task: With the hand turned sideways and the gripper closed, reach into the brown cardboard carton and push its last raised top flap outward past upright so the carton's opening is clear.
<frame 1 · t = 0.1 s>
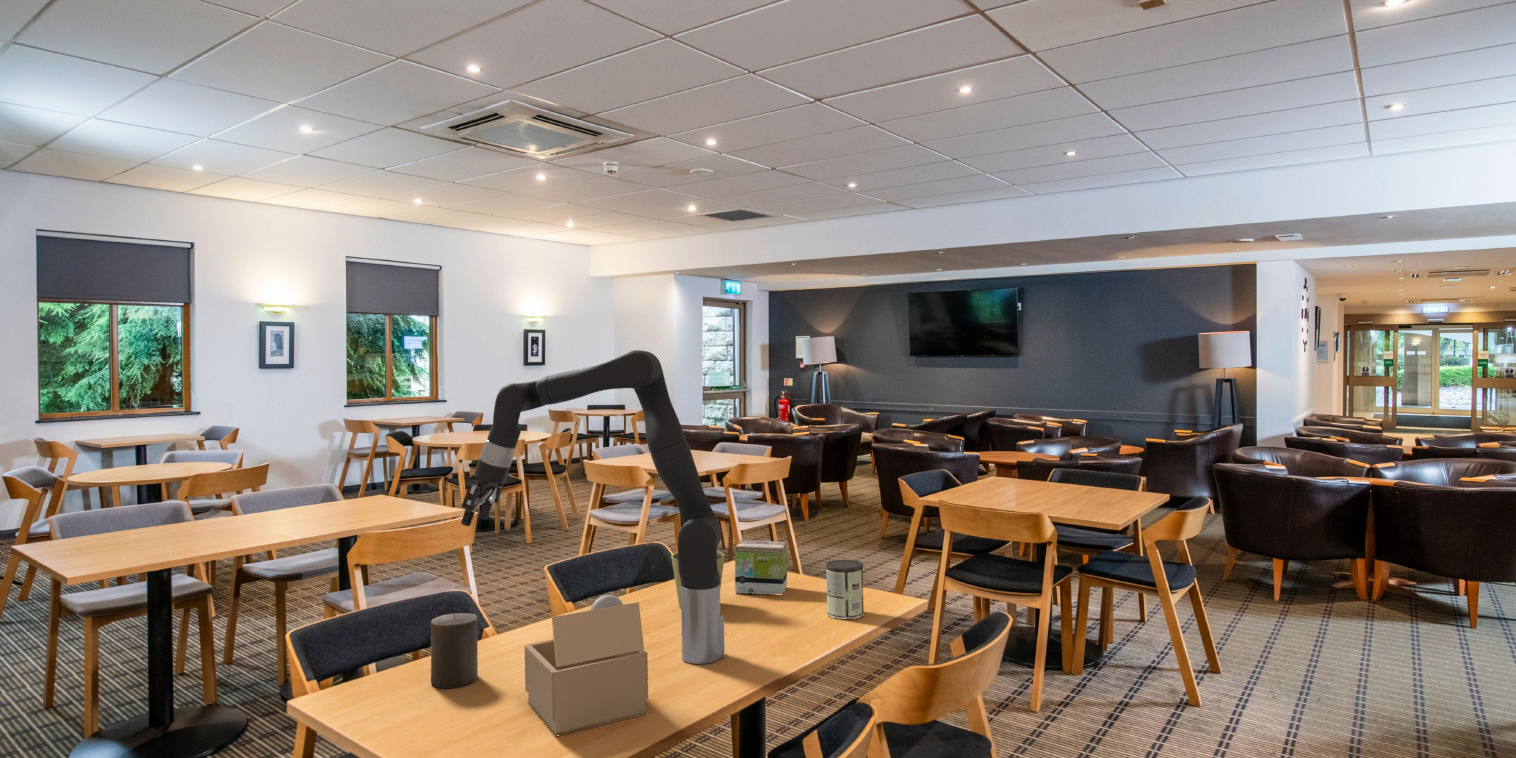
hand: (474, 521, 198), 31 cm above the table, tool tilted 20°, fingers open, 8 cm apart
carton flap: (598, 633, 154), point 17 cm above the table, hinge at 75.0°
donut: (606, 633, 209), on the table
carton: (585, 708, 161), on the table
coffee can: (845, 615, 222), on the table
tea box: (761, 591, 248), on the table
pillar candle: (455, 681, 178), on the table
potted cactus: (698, 607, 232), on the table
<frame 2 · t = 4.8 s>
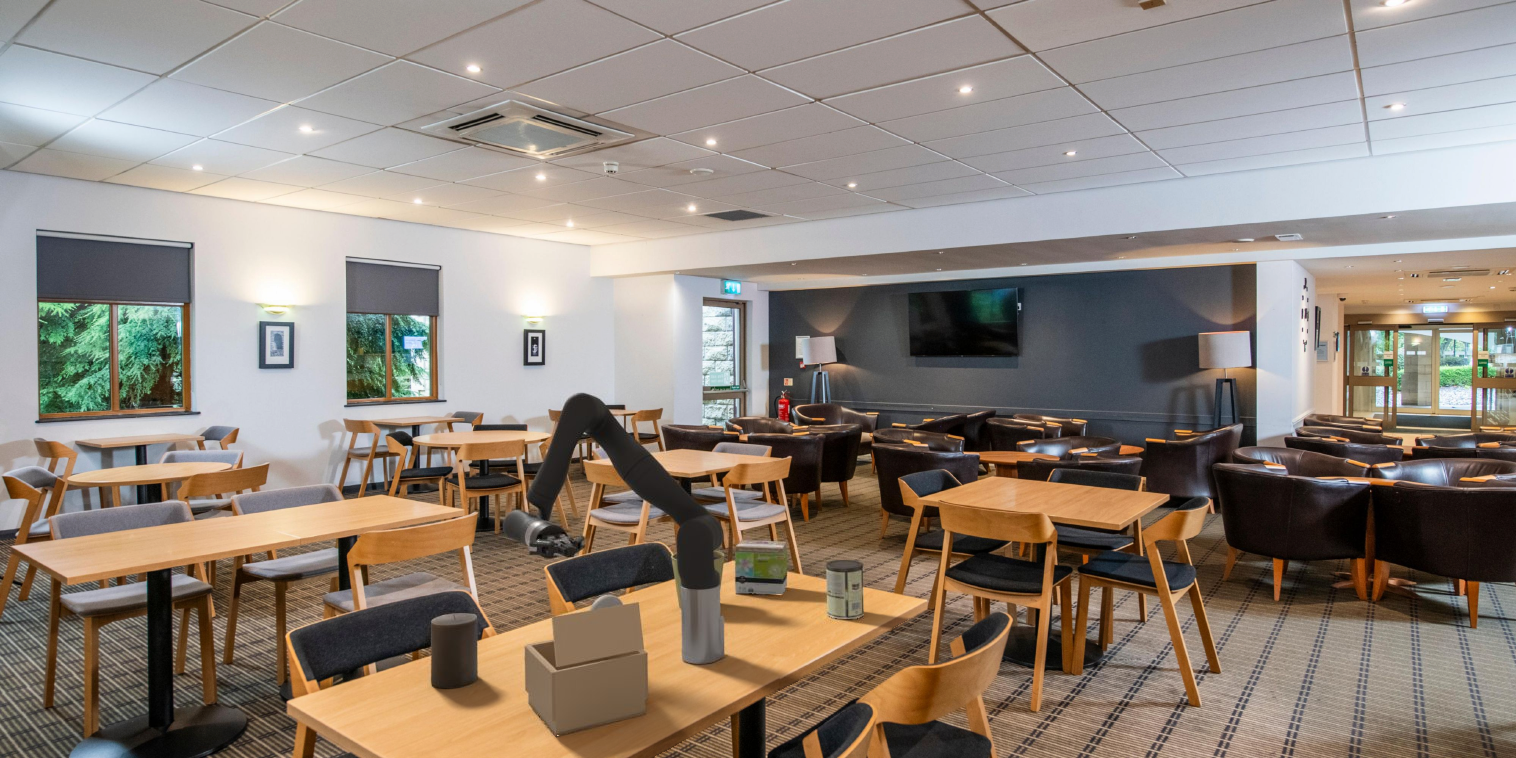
hand: (570, 552, 168), 30 cm above the table, tool horizontal, fingers closed
nothing on the table moved.
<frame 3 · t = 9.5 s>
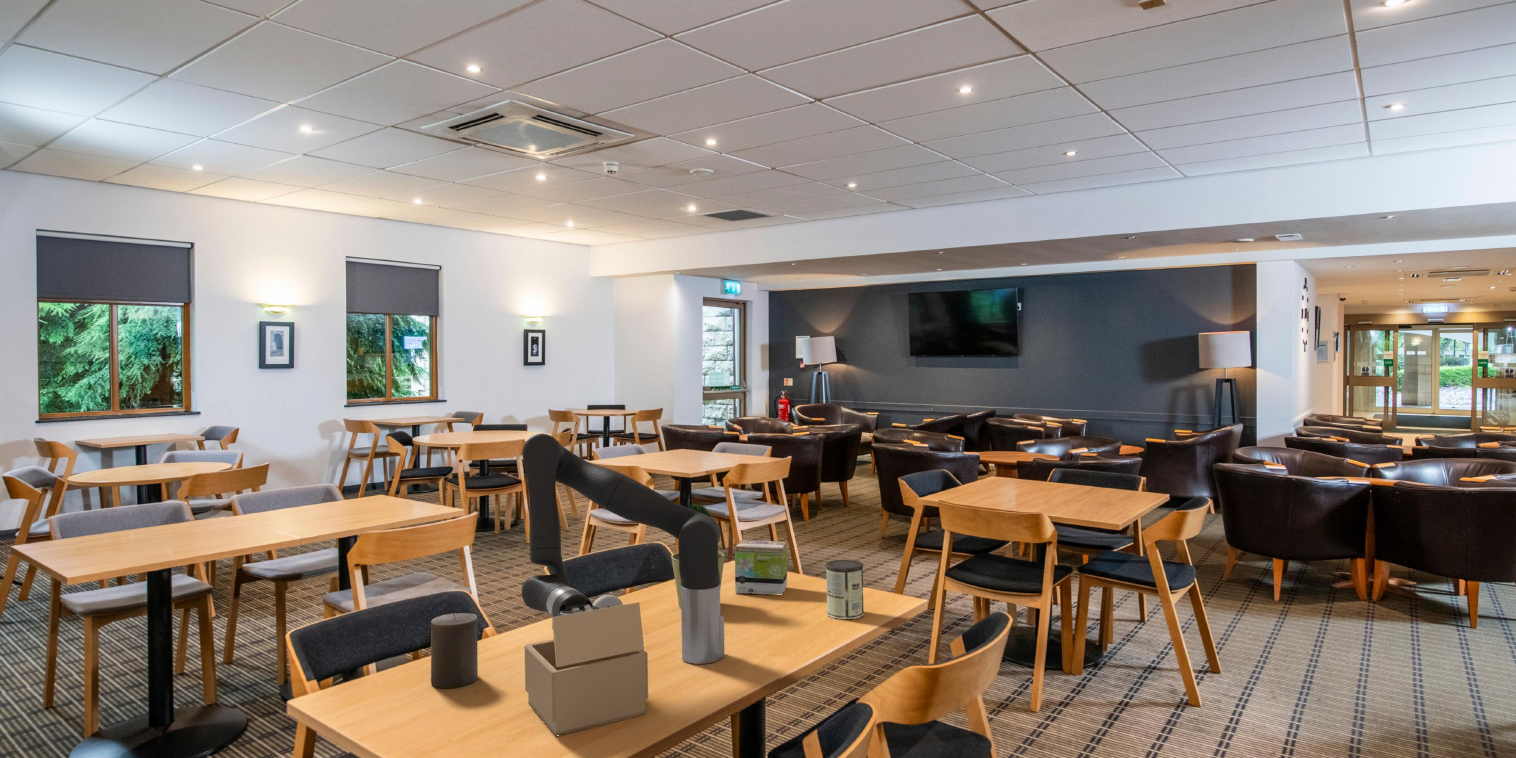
hand: (597, 628, 155), 18 cm above the table, tool horizontal, fingers closed
carton flap: (599, 633, 154), point 17 cm above the table, hinge at 76.7°, touching gripper
everything else where it was.
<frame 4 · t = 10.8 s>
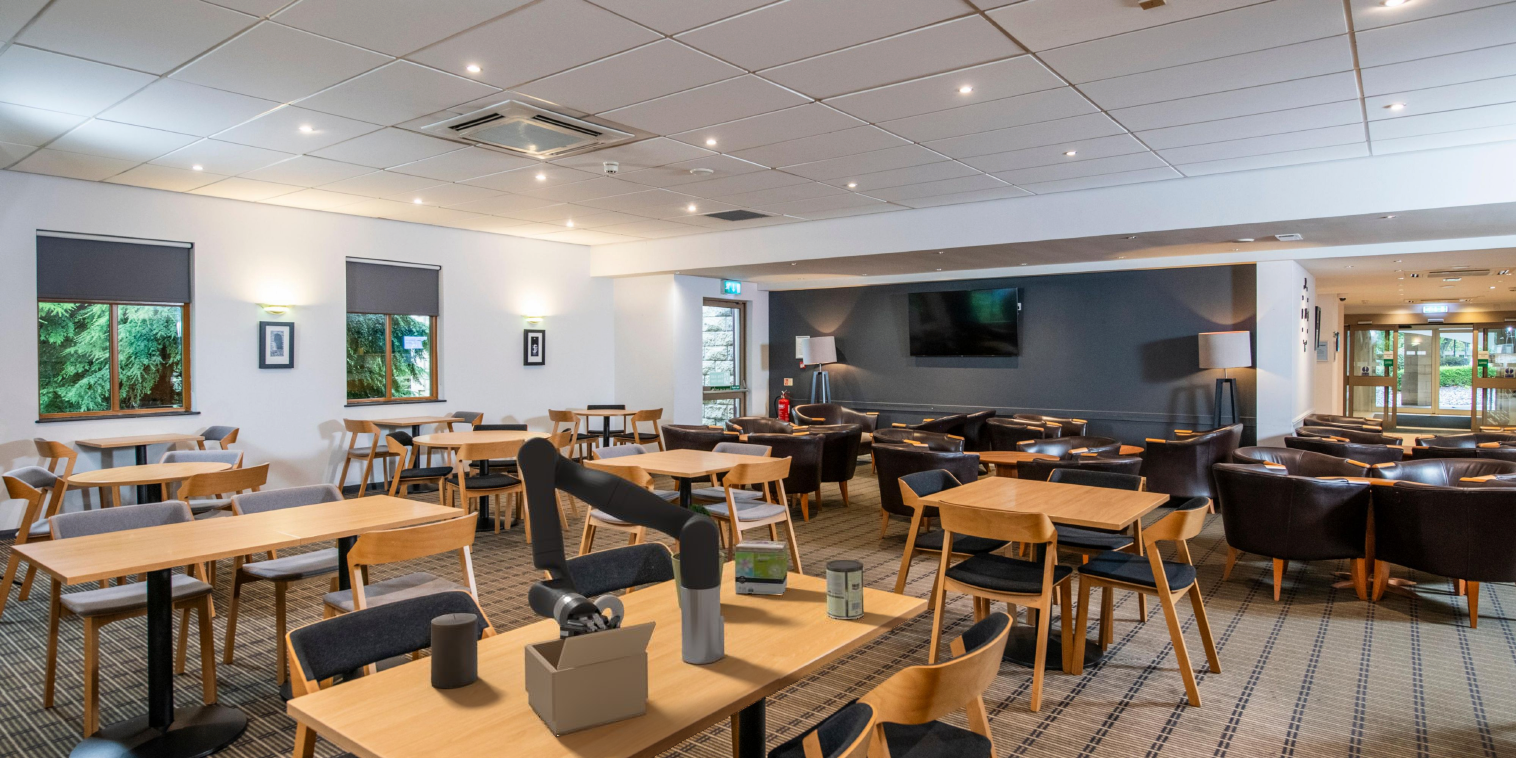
hand: (606, 640, 151), 17 cm above the table, tool horizontal, fingers closed
carton flap: (607, 645, 151), point 16 cm above the table, hinge at 128.5°, touching gripper
everything else where it was.
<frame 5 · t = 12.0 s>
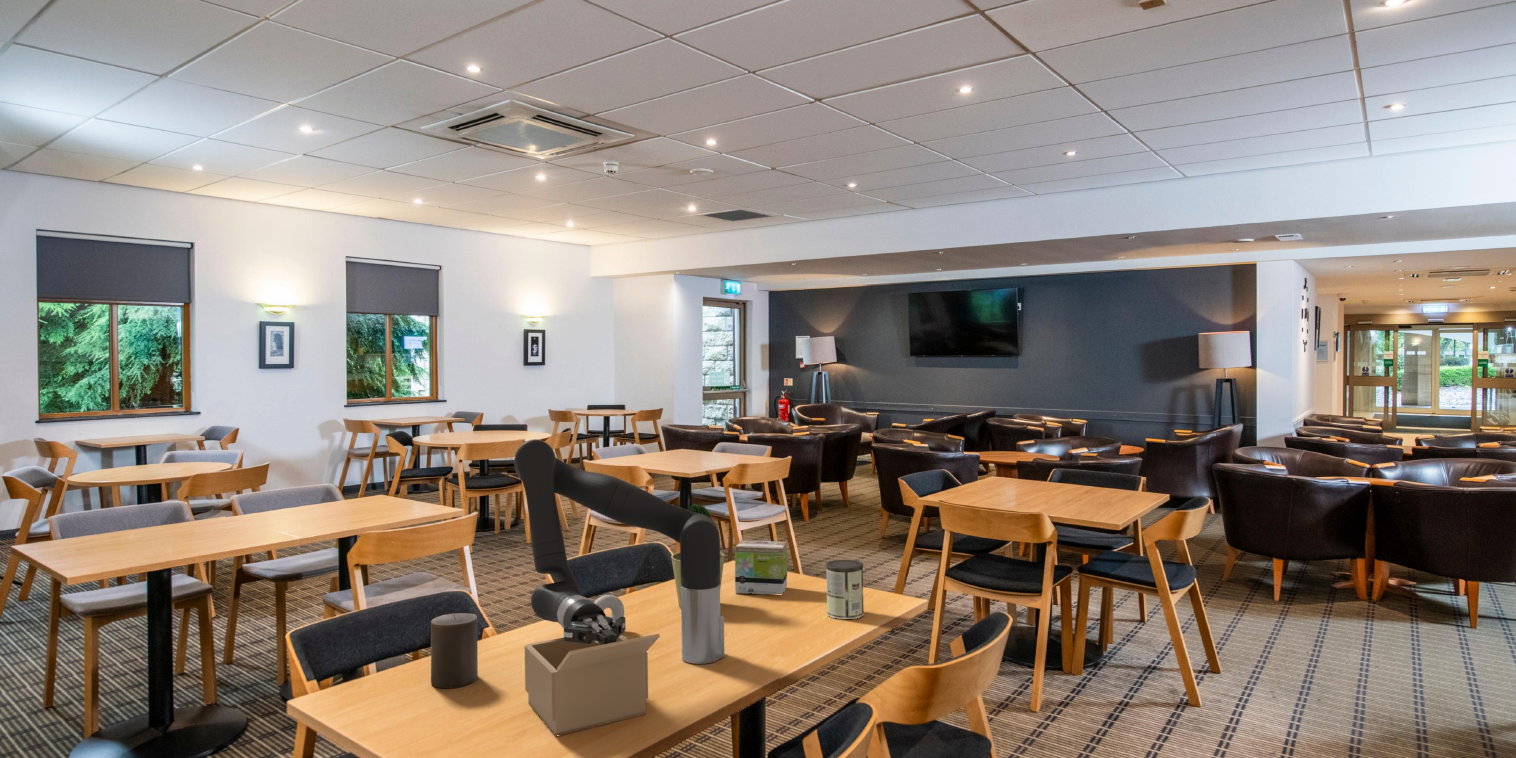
hand: (611, 641, 148), 18 cm above the table, tool horizontal, fingers closed
carton flap: (608, 652, 150), point 15 cm above the table, hinge at 144.1°, touching gripper
everything else where it was.
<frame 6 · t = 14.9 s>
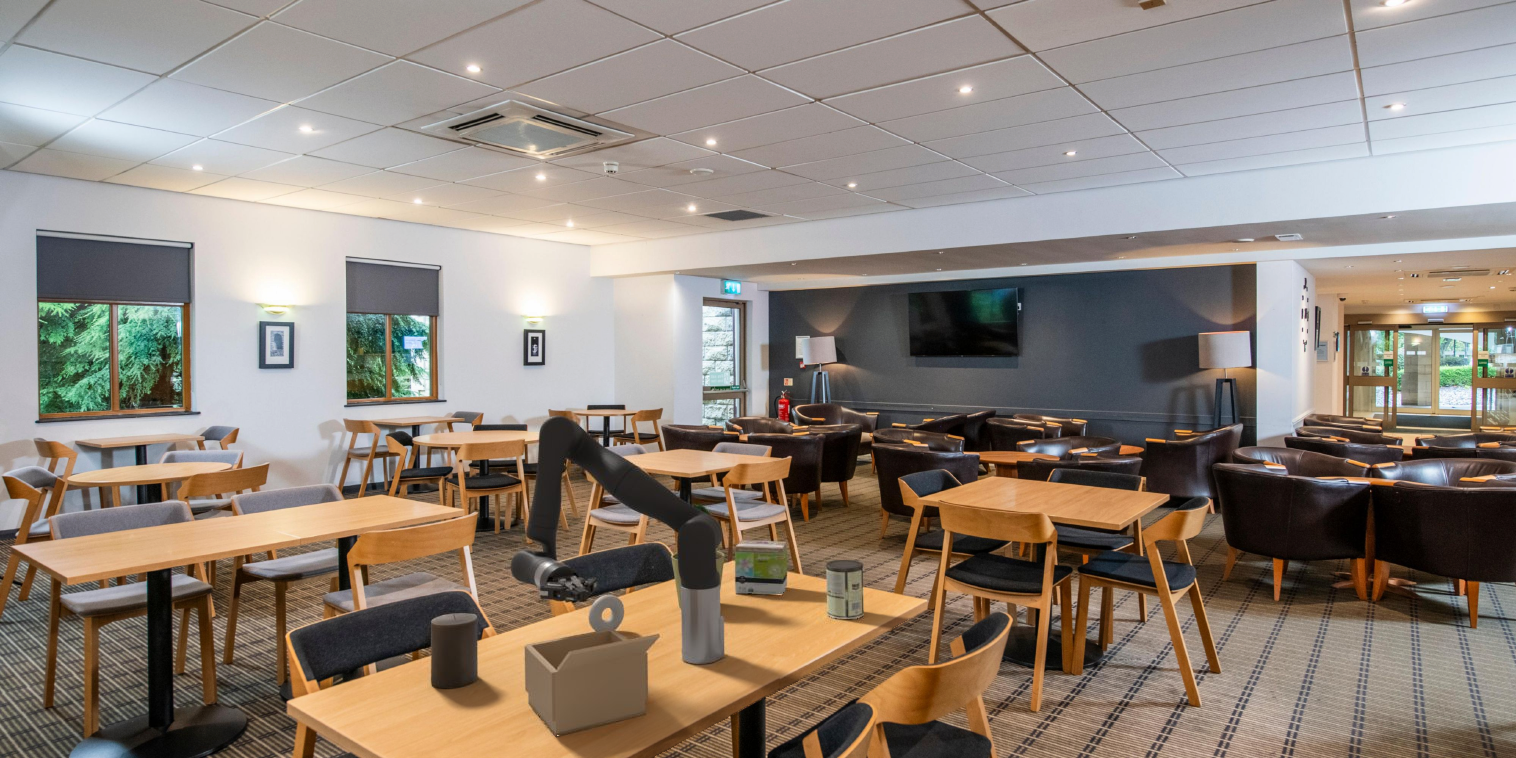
hand: (583, 596, 162), 22 cm above the table, tool horizontal, fingers closed
carton flap: (608, 652, 150), point 15 cm above the table, hinge at 144.3°
everything else where it was.
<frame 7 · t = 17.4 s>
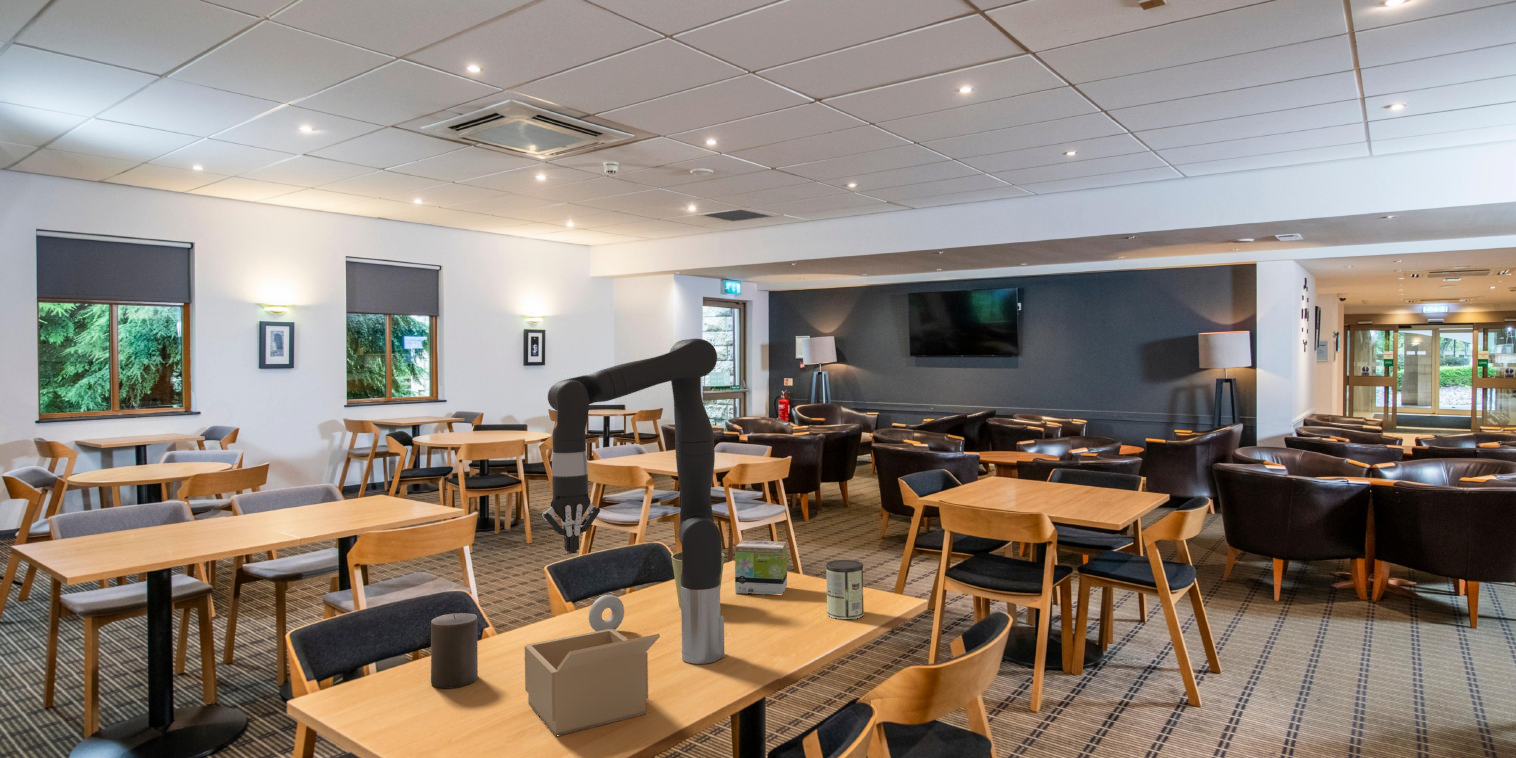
hand: (572, 552, 173), 29 cm above the table, tool pointing down, fingers closed
nothing on the table moved.
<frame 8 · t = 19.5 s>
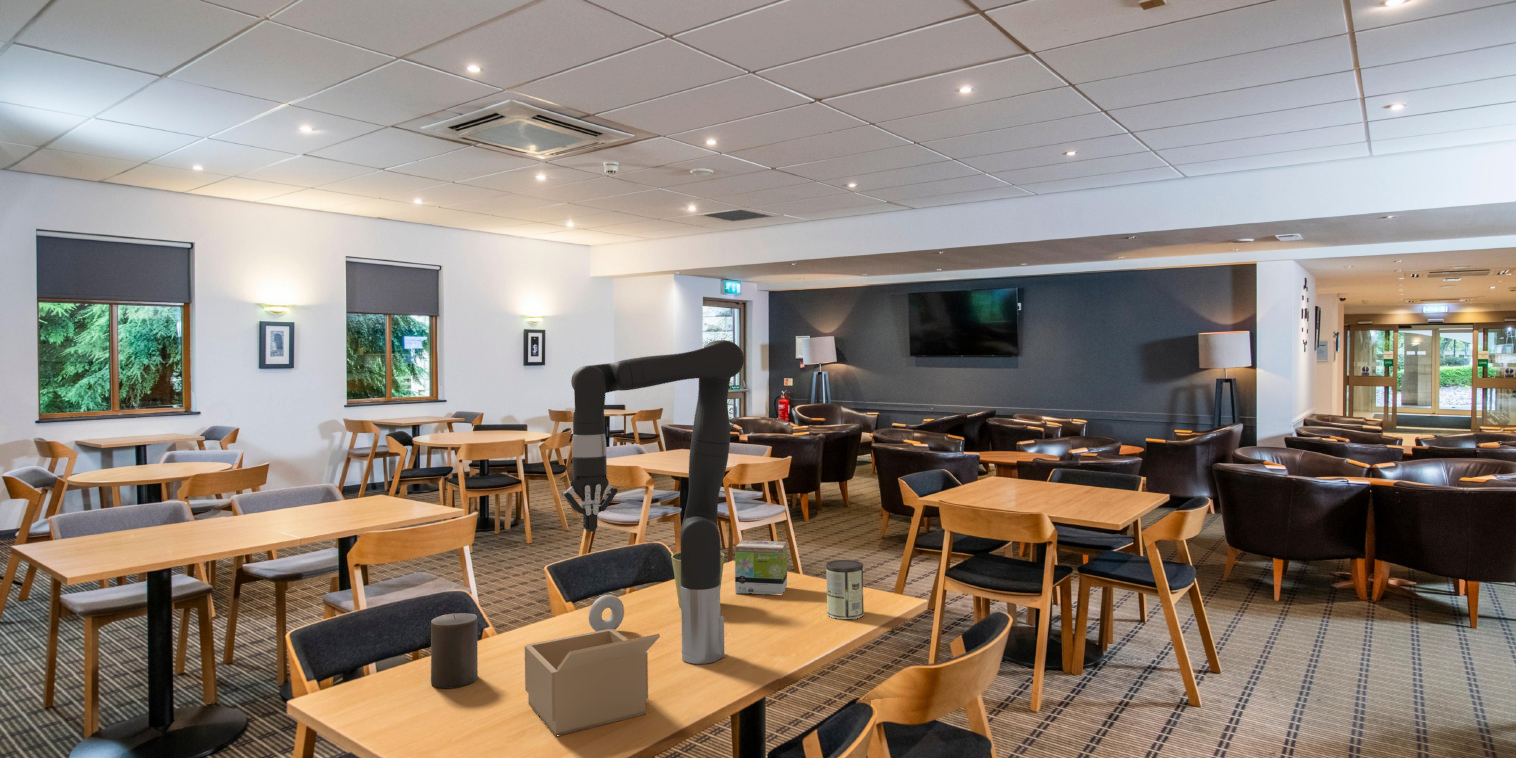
hand: (590, 531, 181), 32 cm above the table, tool pointing down, fingers closed
nothing on the table moved.
at the end: carton flap at +144° (first picture: +75°); the gripper is holding nothing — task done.
